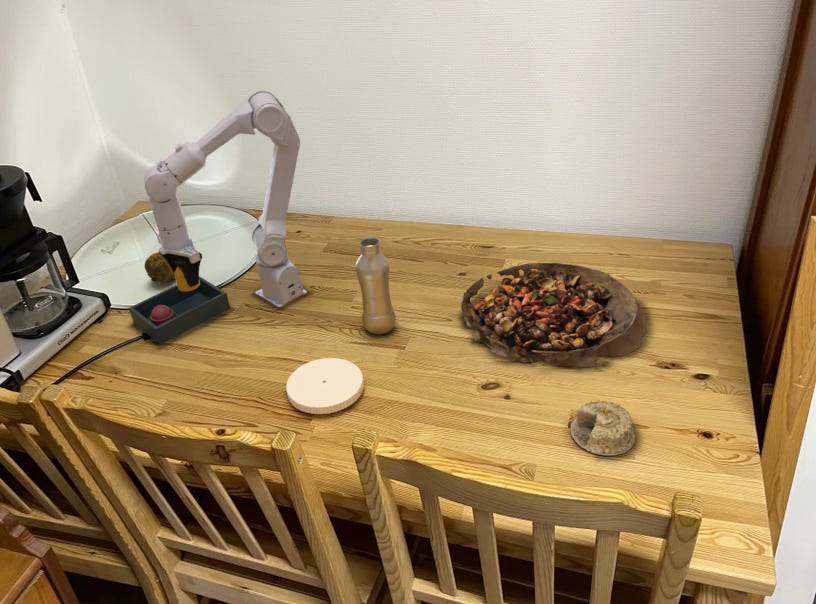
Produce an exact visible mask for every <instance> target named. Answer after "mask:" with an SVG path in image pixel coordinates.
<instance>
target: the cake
mask: <svg viewBox="0 0 816 604" xmlns="http://www.w3.org/2000/svg"><path fill="white" fill-rule="evenodd" d="M569 431H570V434H571V437H572V439H573V440H574V441H575V442H576V444H577V445H578V446H579V447H581V448H582V449H584V450H586V451H588V452H590V453H592V454H596V455H601V456H604V457H606V456H608V457H610V456H611V457H612V456H617V455H622V454H624V453H626V452H628V451H630V450H631V448H633V447H634V445H635V442H636V433H635V430H634V424H633V419H632V415H630V412H629V411H627V410H626V409H625V408H624V407H622V406H621V404H617V403H614V402H609V401H607V400H603V401H601V400H596V401H590V402H589V403H588V402H586V403H585V404H584V405H582V406H581V407H580V408H578V409H577V411H576V416H574V418H573V420H572V421H571V424H570V428H569Z"/></svg>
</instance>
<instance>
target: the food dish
mask: <svg viewBox="0 0 816 604" xmlns="http://www.w3.org/2000/svg"><path fill="white" fill-rule="evenodd" d="M520 271H523V274H522V275H521V273H520ZM496 274H498V275H499V276H500V277H503V276H506V277H503V278H502V280H501V283H498V284H497V287H495V288H494V289H493V291H492V293H491V294H488V295H487V296H486V297H484V299H478V300H476V301H475V303H474V304H473V303H472V301H471V299H472V298H473V297H475V296H477V295H478V293H479V291H480V290H481V289H482V288H483V287H484V285H485V284H484V283H485V280H484V277H481V278H480V279H478V281H475V282H474V283H473V284H472V285H470V287H469V288H467V289H466V291H464V292H463V296H462V301H461V303H460V310H461V314H462V315H463V316H462V317H463V318H462V319H464V321H466V326H467V327H469V328H470V329H472V330H473V332H474V334H475V338H474V341H476V342H480V343H482V344H485V345H486V346H487V347H488V348H490V349H491V353H493V354H496V355H497V356H500V357H504V358H507V359H508V360H510V361H512V362H519V363H526V364H527V363H533V362H537V363H538V362H543V363H544V364H546V365H552V366H554V367H576V368H578V369H582V368H583V369H584V368H591V367H592V368H598V367H600V366H602V367H605V366H606V364H604V363H599V362H596V361H597V360H598V358H599V357H604V356H610V357H613V358H614V357H622V356H625V355H629V354H630V353H632V352H634V351H636V350H638V349H639V348H641V346H642V342H643V337H644V335H646V334H647V333H648V330H647V316H646V314H645V311H644V309H643V307H642V306H641V303H639V301H638V300H637V299H636V297H635V295H634V294H633V293H632V292H631V291H630V289H629V288H627V286H625V285H624V284H623V283H622V282H621V281H619V280H617V279H616V278H615V277H613V276H611V275H610V274H609V273H606V272H604V271H601V270H599V269H593V268H590V267H586V266H583V265H578V264H571V263H561V262H531V263H523V264H520V265H519V264H518V265H513V266H511V267H508V268H505V269H502V270H499V271H498V272H496ZM508 276H513V278H510V277H508ZM492 277H493V275H492V274H491V273H490V274H487V275H486V278H487V279H488V280H492Z"/></svg>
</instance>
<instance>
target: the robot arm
mask: <svg viewBox="0 0 816 604" xmlns="http://www.w3.org/2000/svg"><path fill="white" fill-rule="evenodd" d="M254 129H256V130H257V131H258V132H259V133H260V134H262V135H264V136H265V137H267V138H268V139H270V140H271V142H272V143H273V144H274V145H273V150H272V156H271V162H270V167H269V174H268V180H267V185H266V192H265V195H264V196H265V197H264V203H263V209H262V212H261V215H260V216H259V217H258V222H257V224H256V226H255V228H254V229H253V230H252V233H251V241H252V243H253V245H254V247H255V249H256V253H257V254H256V256H255V263H256V268H257V271H258V272H257V273H258V277H259V281H260V282H259V283H260V286H261V288H260V289H258V290H256V291H255V294H256V295H258V296H259V297H261V298H263V299H265V300H266V301H268V302H269V303H271V304H273V305H274V306H276V307H278V308H280V307H283V306H284V305H286V304H288V303H289V302H291V301H293V300H295V299H297V298H299V297H300V296H302V295H304V294H308V291H307V290H306V289H304V285H303V281H302V276H301V271H300V270H299V269H300V268H298V267H297V266H296V265H294V263H293V262H292V260H291V259H290V256H289V255H290V254H289V252H288V251H289V250H288V247H287V244H286V243H287V241H286V239H287V226H286V225H287V224H286V221H287V216H288V211H289V205H290V199H291V194H292V188H293V182H294V178H295V173H296V167H297V162H298V157H299V151H300V146H301V138H300V135H299V134H298V132H297V129H296V126H295V125H294V123H293V120H292V117H291V115H290V114H289V113H288V112H287V110H286V108H285V107H284V105H283V104H282V102H281V101H280V100H279V99H278V98H277V97H276V96H275V95H274V94H273V93H272V92H270V91H268V90H257V91H255V92H253V93H252V94H251V95H250V96H249V98H245V99H243V100H241V102H239V103H238V104H237V105H236V106H235V107H234V108H233V109H232V110H231V111H230V112H229V113H228V114H227V115H225V117H223V118H222V119H221V120H220V121H219V122H218V123H216V124H215V125H214V126H213V127H212V128H211V129H209V130H208V132H206V133H205V134H204V135H202V137H201V138H200V139H198V140H197V141H195V142H194V141H192V142H191V141H186V142H185V143H183V144H181V143H178V144H177V145H176V146H174V149H175V151H173V152H171V154H170V155H168V156H167V157H166V158H164V159H163V160H159V161H157V162H156V165H152V166H150V167H149V168H148V169H147V170H146V171H145V174H144V176H143V179H144V180H143V182H144V190H145V193H146V195H147V196H148V198H149V202H150V205H151V211H152V214H153V218H154V221H155V224H156V227H157V230H158V234H156V238H157V241H158V243H159V244H160V245H161V247H159V248H158V252H159V254H160V255H161V256H162V257H163V258H164V259H165V260H166V261H167V263H168V264H169V266H170V267H171V269H172V271H173V273H174V272H175V271H176V268H177V267H179V268H180V270H181V271H182V273H183V275H184V277H185V279H186V282H187V284H188V285H189V286H190V287H193V286H195V285H197V284H199V276H200V266H201V262H202V261H203V260H202V259H203V254H202V253H201V252H200V251H198V249H196V247H195V244H194V242H193V239H192V238H191V236H190V233H189V229H188V225H187V222H186V218H185V214H184V211H183V207H182V204H181V201H180V199H179V198H178V195H177V188H178V187H180V186H183V184H184V183H186V182H187V181H188V180H189V179H191V178H192V177H193V176H195V175H197V173H198V172H200V171H201V170H202V169H203V168H205V167H206V166H207V158H208V157H209V156H210V155H211V154H213V153H214V152H216V151H217V150H218V149H220V148H221V147H223V146H224V145H225V144H227V143H228V142H229V141H231V140H232V139H234V138H235V137H237V136H238V135H252V136H255V135H256V132H255V130H254Z"/></svg>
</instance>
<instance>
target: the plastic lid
mask: <svg viewBox="0 0 816 604" xmlns="http://www.w3.org/2000/svg"><path fill="white" fill-rule="evenodd" d="M364 382H365V381H364V376H363V373H362V370H361V369H360V367H358V366H357V364H355V363H353V362H352V361H350V360H347V359H343V358H338V357H326V358H325V357H324V358H317V359H314V360H310V361H308V362H306V363H304V364H302V365H301V366H299V367H297V368H296V369H295V370H294V371H293V372H292V373H291V374H290V375H289V377H288V379H287V382H286V385H285V388H286V389H285V390H286V395H287V399H288V401H289V403H290V404H291V405H292V407H294V408H296V410H298V411H301V412H304V413H307V414H311V415H313V414H314V415H316V414H317V415H323V414H324V415H326V414H331V413H332V414H333V413H337V412H338V411H339V412H340V411H341V410H344V409H347V407H350V406H351V405H353V404H354V403H355V402H356V401H357V400H359V397H361V395H362V393H363V392H364V391H363V390H364V388H365V387H364V386H365V383H364Z"/></svg>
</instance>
